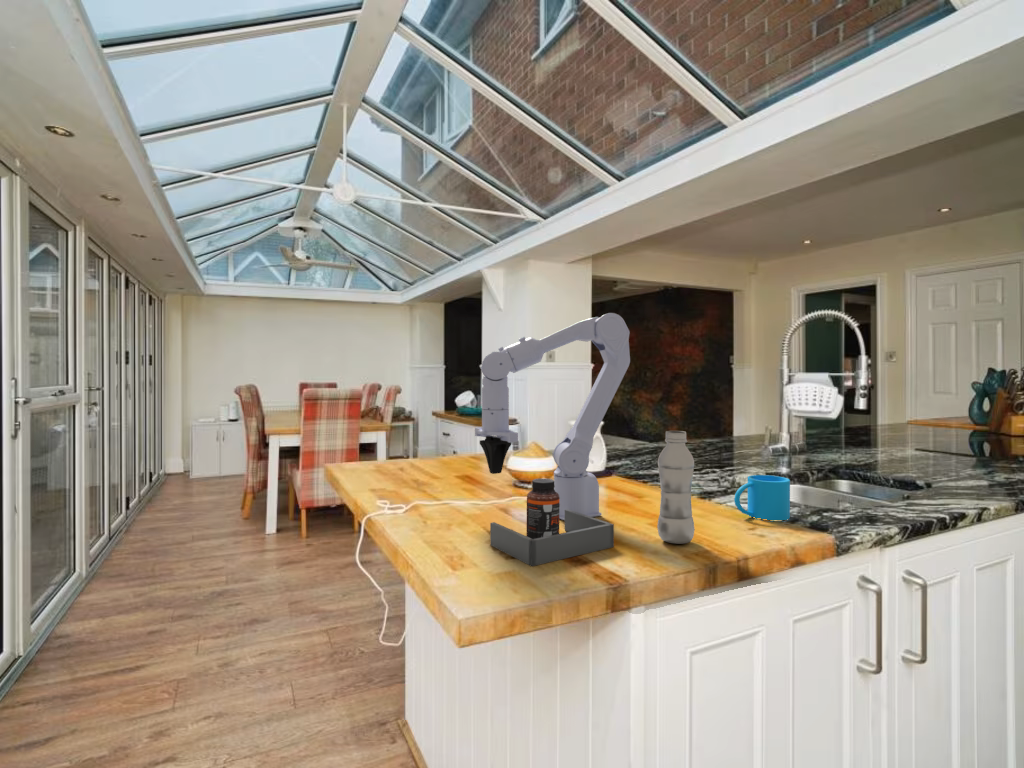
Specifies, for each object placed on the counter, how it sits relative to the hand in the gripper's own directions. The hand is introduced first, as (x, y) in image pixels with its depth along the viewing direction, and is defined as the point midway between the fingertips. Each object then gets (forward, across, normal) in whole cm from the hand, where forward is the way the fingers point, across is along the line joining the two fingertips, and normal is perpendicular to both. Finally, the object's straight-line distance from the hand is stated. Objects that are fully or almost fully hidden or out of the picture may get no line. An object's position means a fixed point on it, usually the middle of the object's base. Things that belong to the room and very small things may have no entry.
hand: (495, 473), depth 116 cm
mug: (+10, +31, +47) cm, 57 cm away
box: (+9, +22, -2) cm, 24 cm away
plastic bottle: (+10, +33, +18) cm, 39 cm away
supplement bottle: (+10, +20, -2) cm, 22 cm away
